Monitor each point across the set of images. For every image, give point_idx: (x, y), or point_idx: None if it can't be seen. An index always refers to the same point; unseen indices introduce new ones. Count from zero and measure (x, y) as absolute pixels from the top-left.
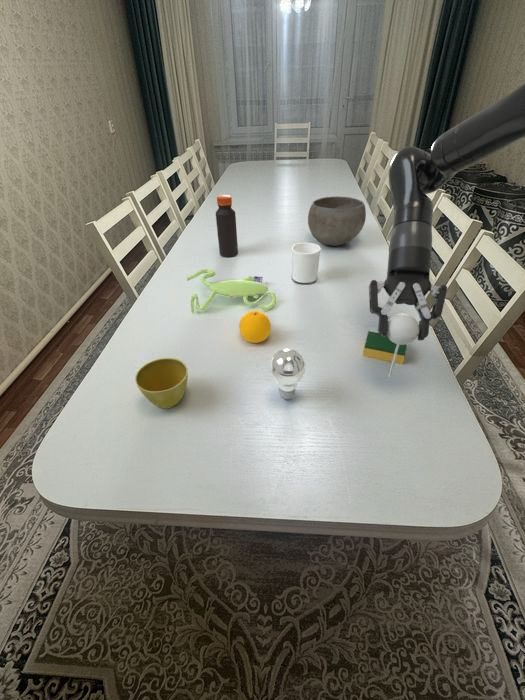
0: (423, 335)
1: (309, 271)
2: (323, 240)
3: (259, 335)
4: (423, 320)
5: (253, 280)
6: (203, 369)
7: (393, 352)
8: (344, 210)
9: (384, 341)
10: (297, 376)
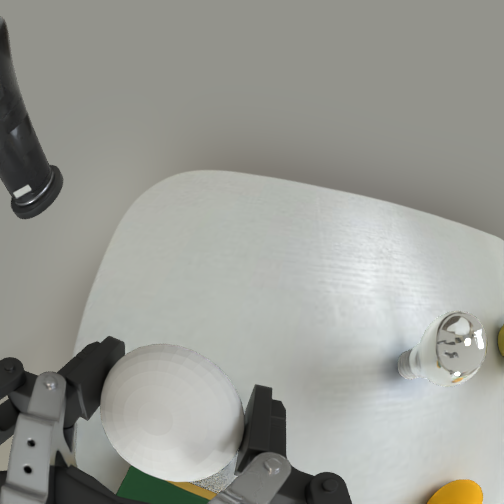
0: (109, 341)
1: None
2: None
3: (452, 487)
4: (78, 378)
5: None
6: (491, 405)
7: (159, 478)
8: None
9: None
10: (438, 317)
